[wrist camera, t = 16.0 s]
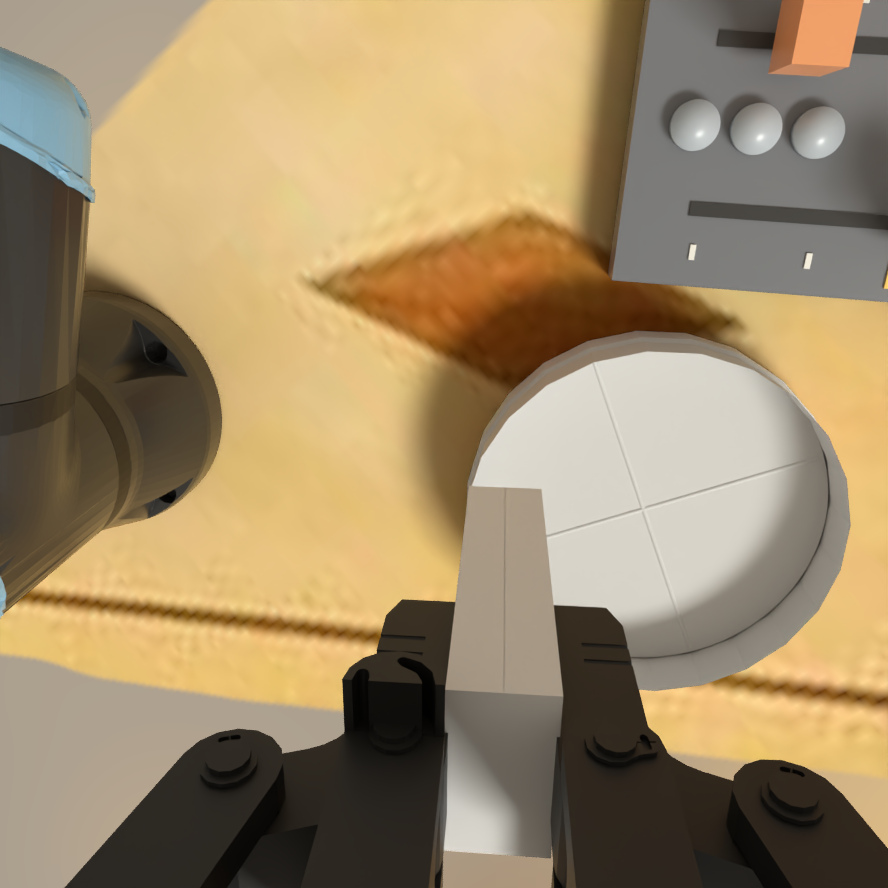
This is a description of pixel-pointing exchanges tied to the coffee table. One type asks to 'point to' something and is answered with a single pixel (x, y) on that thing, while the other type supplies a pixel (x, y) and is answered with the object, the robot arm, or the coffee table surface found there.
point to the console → (753, 158)
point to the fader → (814, 36)
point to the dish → (676, 497)
